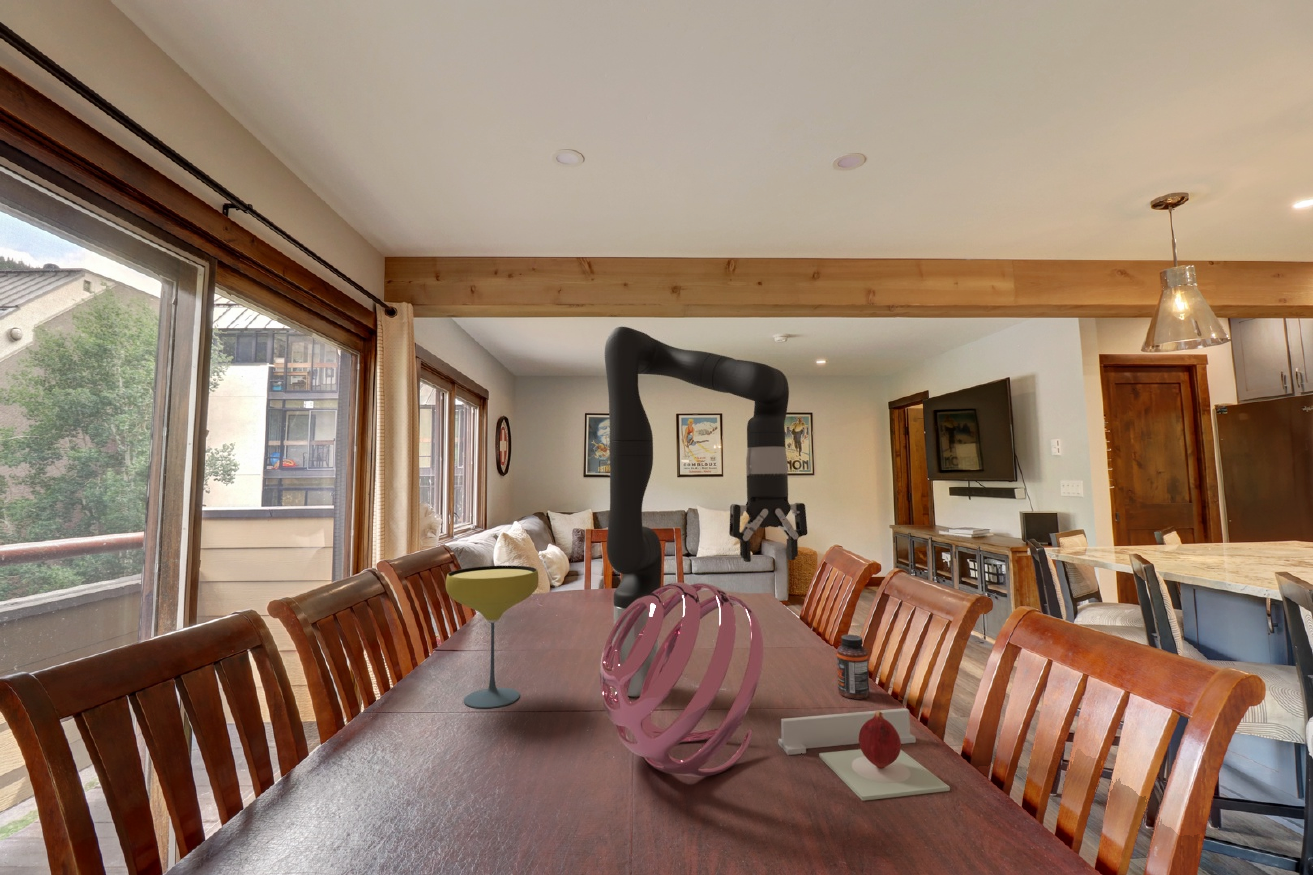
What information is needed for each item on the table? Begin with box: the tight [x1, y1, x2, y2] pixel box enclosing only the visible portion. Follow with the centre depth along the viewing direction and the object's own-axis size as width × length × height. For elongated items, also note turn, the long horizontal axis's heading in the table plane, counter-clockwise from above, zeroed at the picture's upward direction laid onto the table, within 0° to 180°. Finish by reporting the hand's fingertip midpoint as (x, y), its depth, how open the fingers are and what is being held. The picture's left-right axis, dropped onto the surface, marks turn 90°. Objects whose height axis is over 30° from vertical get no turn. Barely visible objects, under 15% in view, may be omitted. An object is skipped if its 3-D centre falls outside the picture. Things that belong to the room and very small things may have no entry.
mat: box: [818, 748, 951, 802], centre depth 87 cm, size 13×13×1 cm
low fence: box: [777, 707, 917, 756], centre depth 97 cm, size 22×4×4 cm, turn 100°
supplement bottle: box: [836, 634, 870, 700], centre depth 119 cm, size 6×6×11 cm
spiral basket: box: [599, 582, 765, 778], centre depth 93 cm, size 28×28×27 cm
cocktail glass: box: [445, 565, 539, 710], centre depth 119 cm, size 18×18×25 cm
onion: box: [858, 710, 902, 769], centre depth 87 cm, size 6×6×8 cm
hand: (769, 560), depth 109 cm, fingers open, 8 cm apart
